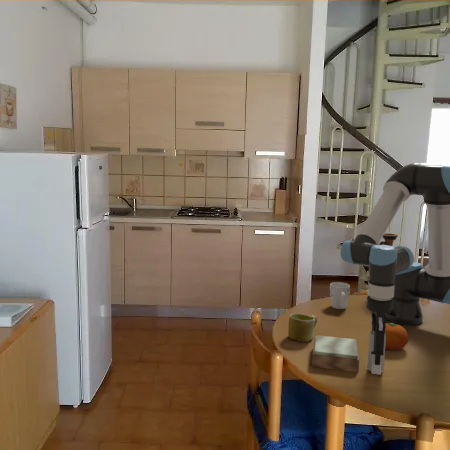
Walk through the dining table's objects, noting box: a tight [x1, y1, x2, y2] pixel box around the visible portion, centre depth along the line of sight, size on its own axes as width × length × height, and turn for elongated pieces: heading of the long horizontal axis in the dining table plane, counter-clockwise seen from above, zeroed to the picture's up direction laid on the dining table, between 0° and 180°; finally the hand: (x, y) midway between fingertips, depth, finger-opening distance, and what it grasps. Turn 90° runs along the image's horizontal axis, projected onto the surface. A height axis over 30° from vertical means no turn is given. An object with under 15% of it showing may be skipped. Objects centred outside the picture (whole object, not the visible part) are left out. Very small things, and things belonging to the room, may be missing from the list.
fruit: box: [385, 322, 409, 351], centre depth 156 cm, size 11×10×8 cm
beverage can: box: [366, 330, 386, 373], centre depth 138 cm, size 5×5×12 cm
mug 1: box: [287, 313, 318, 343], centre depth 164 cm, size 12×10×10 cm
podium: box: [311, 334, 360, 373], centre depth 146 cm, size 14×14×5 cm
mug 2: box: [329, 281, 351, 310], centre depth 196 cm, size 11×8×10 cm
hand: (375, 369), depth 139 cm, fingers closed on beverage can, 5 cm apart
